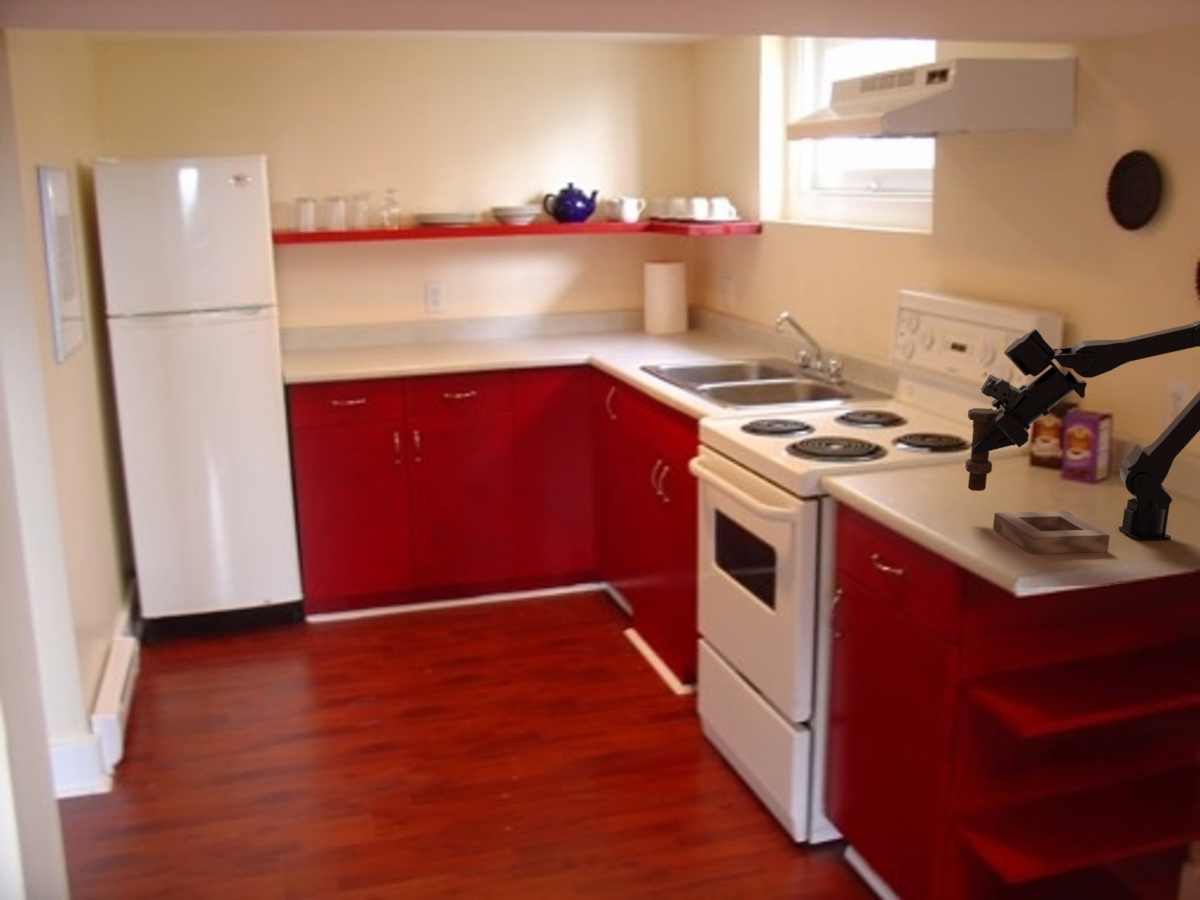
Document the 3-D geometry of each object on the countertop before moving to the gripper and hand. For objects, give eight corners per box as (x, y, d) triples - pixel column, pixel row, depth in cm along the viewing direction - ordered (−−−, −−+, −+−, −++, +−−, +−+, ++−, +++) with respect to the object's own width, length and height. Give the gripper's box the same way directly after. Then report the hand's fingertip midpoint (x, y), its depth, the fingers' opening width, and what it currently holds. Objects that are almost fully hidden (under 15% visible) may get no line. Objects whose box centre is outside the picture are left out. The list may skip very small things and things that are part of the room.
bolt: (993, 494, 211) (1000, 414, 207) (964, 493, 212) (971, 413, 208) (988, 486, 216) (995, 408, 213) (960, 484, 217) (967, 407, 214)
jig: (1064, 526, 212) (1066, 510, 211) (1107, 551, 198) (1109, 534, 198) (993, 528, 210) (994, 512, 209) (1031, 554, 196) (1033, 537, 196)
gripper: (1008, 353, 216) (942, 407, 221) (1014, 370, 198) (943, 428, 204) (1049, 397, 216) (982, 450, 221) (1058, 418, 198) (985, 474, 204)
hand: (972, 449), depth 212 cm, fingers closed on bolt, 5 cm apart
